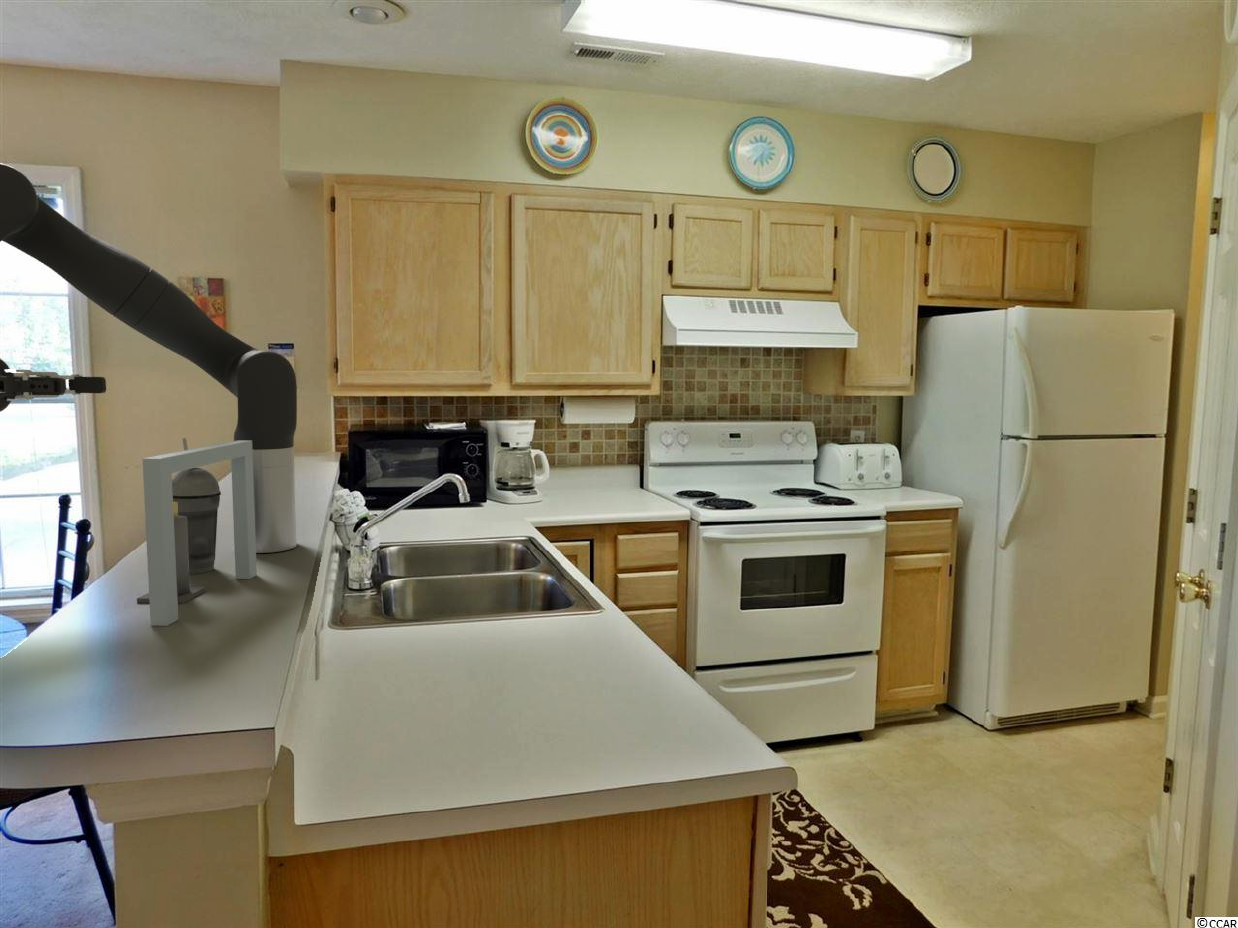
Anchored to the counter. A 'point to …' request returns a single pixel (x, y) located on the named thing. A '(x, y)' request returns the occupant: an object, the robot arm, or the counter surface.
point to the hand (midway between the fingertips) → (84, 385)
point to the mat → (180, 598)
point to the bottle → (181, 551)
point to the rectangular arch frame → (162, 519)
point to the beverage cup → (198, 514)
